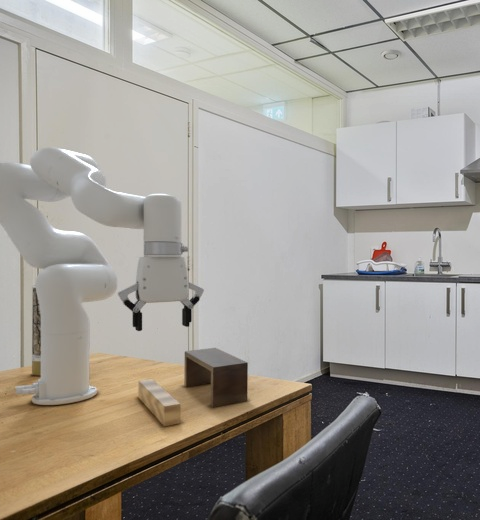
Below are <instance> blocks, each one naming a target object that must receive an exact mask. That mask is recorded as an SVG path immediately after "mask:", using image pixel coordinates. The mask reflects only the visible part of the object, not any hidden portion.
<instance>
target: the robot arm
mask: <svg viewBox="0 0 480 520" xmlns="http://www.w3.org/2000/svg"><path fill="white" fill-rule="evenodd" d="M29 163H30V164H26V163H21V162H16V161H15V162H14V161H0V225H1V227H2V228H3V229H4V231H5V232H6V234H7V236H8V237H9V239H10V241H11V242H12V244H13V245H14V246H15V248H16V249H17V251H18V253H19V255H20V256H21V257H22V259H23V260H24V261H25V262H26V263H27V264H28V265H29V266H30V267H32V268H35V269H39V270H40V269H41V271H39V273H38V274H37V276H36V278H35V284H34V285H36V293H37V297H38V301H39V306H40V316H41V376H40V378H38V379H37V382H32V384H28V385H18V386H14V387H15V389H14V390H15V392H14V393H15V394H14V395H15V396H18V395H19V396H20V395H21V396H22V397H24V396H28V395H29V396H30V395H32V396H31V402H32V404H34V405H39V406H57V405H58V406H59V405H67V404H73V403H77V402H82V401H86V400H88V399H91V398H93V397H95V396H97V394H98V388H97V387H96V386H93V385H90V367H91V366H90V365H91V364H90V363H91V362H90V358H91V357H90V356H91V355H90V353H91V352H90V350H91V349H90V348H91V345H90V344H91V341H90V340H91V323H90V317H89V314H88V312H87V311H86V309H85V308H84V306H83V303H92V302H100V301H105V300H107V299H110V298H111V297H112V296H114V294H115V293H116V292H117V290H118V285H119V283H118V276H117V274H116V272H115V270H114V268H113V267H112V265H111V263H110V262H109V261H108V259H107V258H106V257H105V255H104V254H103V252H102V251H101V249H100V248H99V246H98V245H97V243H95V241H94V240H93V239H92V238H91V237H90V236H88V235H87V234H85V233H83V232H80V231H73V230H61V229H58V228H55V227H54V226H53V225H52V224H51V223H50V221H48V219H47V217H46V216H45V214H44V212H43V213H42V211H41V210H40V209H39V208H38V207H36V206H35V205H33V204H31V203H30V202H29V201H30V200H31V201H39V202H45V203H46V202H51V203H52V202H59V201H62V200H65V199H67V198H69V197H70V198H71V201H72V204H73V206H74V207H75V209H76V210H77V211H78V212H79V213H81V214H82V215H84V216H86V217H87V218H89V219H91V220H92V221H93V222H96V223H98V224H100V225H102V226H105V227H106V226H107V227H110V228H111V227H112V228H121V229H122V228H124V229H131V230H143V256H139V258H138V261H137V268H136V274H135V275H136V277H135V283H134V284H132V285H129V286H128V287H126V288H124V289H121V290H120V291H118V292H117V296H118V297H119V299H120V301H121V302H122V304H123V305H124V307H127V309H128V310H130V311H131V312H132V327H133V328H135V331H137V332H141V331H143V312H142V311H141V310H142V309H143V307H144V306H145V305H146V304H154V303H155V304H156V303H174V302H180V303H181V305H182V306H183V308H182V309H181V325H182V326H183V327H186V328H189V327H190V323H192V319H193V318H192V316H193V315H192V310H193V308H194V307H195V306H196V305H197V304H198V303H199V301H200V300H201V298H202V295H203V294H204V291H205V290H204V288H203V287H200V286H198V285H196V284H193V283H191V282H189V276H188V269H187V261H186V257H185V256H182V255H183V253H188V251H189V246H187V245H184V244H183V243H182V201H181V199H180V198H179V197H178V196H176V195H173V194H167V193H152V194H151V193H150V194H148V195H146V196H141V195H136V194H132V193H131V194H130V193H125V192H118V191H113V190H112V189H109V188H107V187H106V186H107V179H106V176H105V174H104V173H103V171H101V168H100V166H99V164H98V163H97V161H96V160H95V159H94V158H93V157H91V156H90V155H87V154H85V153H80V152H77V151H72V150H68V149H63V148H59V147H53V146H47V147H42V148H39V149H37V150H36V151H34V152H33V154H31V157H30V160H29ZM27 200H29V201H27ZM189 290H190V291H192V292H194V294H193V296H192V297H191V298H190V299H189V292H190V291H189ZM134 292H135V293H134ZM132 293H134V294H135V300H136V301H135V302H134V303H133V302H132V301H131V300H130V299H129V295H130V294H132Z"/></svg>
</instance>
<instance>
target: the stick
mask: <svg viewBox="0 0 480 520" xmlns="http://www.w3.org/2000/svg"><path fill="white" fill-rule="evenodd" d="M137 390H138V392H137V393H138V397H137V398H138V399H139V400H140V401H141V403H143V404H144V406H145V407H146V408H147V409H148V410H149V411H150V412H151V413H152V415H154V417H155V418H156V419H157V420H158V421H159V422H160V423H161V424H162V425H163V427H167V426H169V427H170V426H173V425H179V424H181V403H180V402H179V401H178V400H177V399H176V398H174V397H173V396H172V395H171V394H170V393H169V392H168V391H167V390H165V388H163V387H162V386H161V385H160V384H158V382H156V381H155V380H154V379H153V378H148V379H141V380H138V389H137Z"/></svg>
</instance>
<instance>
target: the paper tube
mask: <svg viewBox="0 0 480 520" xmlns="http://www.w3.org/2000/svg"><path fill="white" fill-rule="evenodd" d="M31 305H32V311H31V312H32V315H31V317H32V318H31V319H32V320H31V321H32V323H31V374H32V375H34V376H37V377H41V316H40V306H39V301H38V297H37V293H36V285H35V284H33V285H32V304H31Z"/></svg>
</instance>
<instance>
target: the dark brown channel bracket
mask: <svg viewBox="0 0 480 520" xmlns="http://www.w3.org/2000/svg"><path fill="white" fill-rule="evenodd" d="M183 368H184V371H183V373H184V375H183V377H184V379H183V381H184V383H183V384H184V386H185V388H188V387H189V388H190V387H195V386H200V385H206V384H207V385H208V384H210V406H211V407H212V408H217V407H221V406H228V405H232V404H238V403H242V402H247V401H248V382H249V381H248V377H249V375H248V374H249V373H248V371H249V362H248V361H245V360H243V359H241V358H239V357H236V356H235V355H232V354H230V353H228V352H226V351H224V350H221V349H219V348H217V347H210V348H202V349H200V348H199V349H193V350H184V367H183Z"/></svg>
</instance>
